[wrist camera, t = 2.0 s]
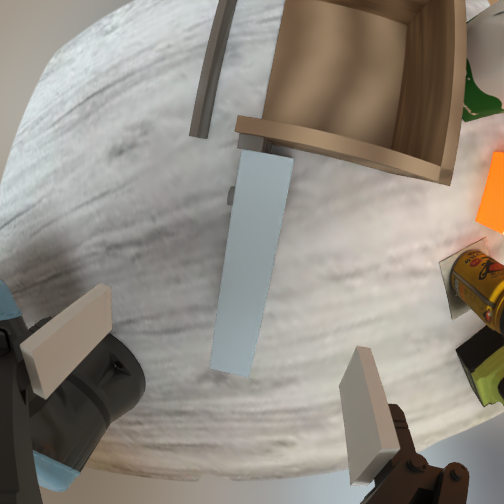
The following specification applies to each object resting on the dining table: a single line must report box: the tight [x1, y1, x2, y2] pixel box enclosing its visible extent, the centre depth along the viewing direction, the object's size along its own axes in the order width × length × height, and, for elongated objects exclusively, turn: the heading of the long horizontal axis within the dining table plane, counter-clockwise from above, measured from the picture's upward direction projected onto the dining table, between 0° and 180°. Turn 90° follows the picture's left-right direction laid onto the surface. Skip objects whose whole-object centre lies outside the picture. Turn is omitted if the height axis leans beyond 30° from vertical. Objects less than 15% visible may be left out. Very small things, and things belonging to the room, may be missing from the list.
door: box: [209, 149, 294, 377], centre depth 28 cm, size 5×18×11 cm, turn 170°
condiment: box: [440, 237, 504, 337], centre depth 25 cm, size 7×8×12 cm
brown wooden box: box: [189, 0, 467, 186], centre depth 21 cm, size 20×20×13 cm
